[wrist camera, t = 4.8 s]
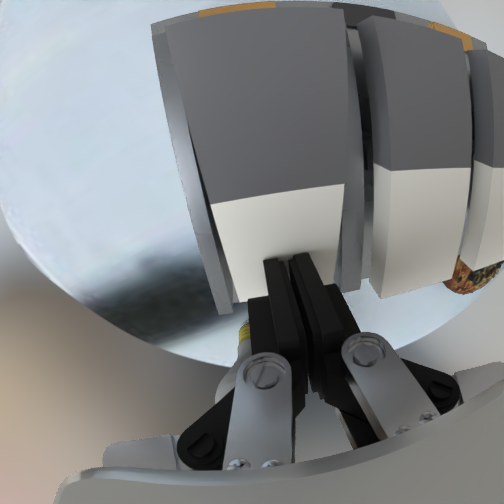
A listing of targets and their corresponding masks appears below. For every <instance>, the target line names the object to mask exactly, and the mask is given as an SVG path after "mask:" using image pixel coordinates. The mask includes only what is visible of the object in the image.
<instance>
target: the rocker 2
mask: <svg viewBox="0 0 504 504" xmlns="http://www.w3.org/2000/svg"><path fill="white" fill-rule="evenodd" d="M357 29H358V33H359V38H360V43H361V48H362V54H363V60H364V66H365V72H366V79H367V86H368V94H369V103H370V113H371V124H372V139H373V167H374V217H373V239H372V254H371V266H370V277H369V282H370V284H371V285H372V287H373V288H374V290H375V291H376V293H377V294H378V296H379V297H380V299H382V298H386V297H390V296H394V295H398V294H401V293H405V292H408V291H412V290H416V289H419V288H422V287H426V286H429V285H433V284H436V283H439V282H442V281H445V280H449V279H452V275H453V272H454V268H455V264H456V260H457V256H458V252H459V247H460V242H461V238H462V233H463V227H464V221H465V215H466V209H467V202H468V193H469V184H470V172H471V155H472V116H471V99H470V88H469V79H468V71H467V65H466V58H465V53H464V48H463V43H462V39H460V38H457V37H455V36H452V35H449V34H446V33H443V32H440V31H437V30H434V29H431V28H427V27H424V26H420V25H416V24H413V23H408V22H404V21H400V20H395V19H390V18H385V17H380V16H373V15H372V16H371V17H369V18H367V19H365V20H363V21H361V22H360V23H358V24H357Z"/></svg>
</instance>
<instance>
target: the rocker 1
mask: <svg viewBox="0 0 504 504" xmlns="http://www.w3.org/2000/svg"><path fill="white" fill-rule="evenodd" d="M165 31H166V35H167V40H168V44H169V48H170V53H171V57H172V61H173V65H174V70H175V74H176V78H177V82H178V86H179V90H180V94H181V98H182V102H183V106H184V110H185V114H186V117H187V121H188V125H189V129H190V133H191V137H192V140H193V144H194V148H195V152H196V155H197V159H198V163H199V166H200V170H201V173H202V177H203V181H204V184H205V188H206V191H207V195H208V198H209V202H210V205H211V209H212V212H213V216H214V219H215V223H216V226H217V229H218V233H219V236H220V240H221V243H222V246H223V250H224V253H225V256H226V260H227V263H228V266H229V269H230V273H231V276H232V279H233V282H234V286H235V289H236V292H237V295H238V298H239V302H246V301H248V299H249V298H255V297H261V296H267V295H268V290H267V284H266V278H265V272H264V265H263V260H267V259H273V258H278V261H284V263H285V266H286V269H287V272H288V275H289V279H290V272H289V262H288V260H291V259H293V255H297V254H302V253H309V255H310V257H311V259H312V261H313V263H314V265H315V267H316V269H317V271H318V273H319V276H320V278H321V280H322V282H323V284H324V285H328V284H332V283H333V277H334V271H335V264H336V257H337V249H338V242H339V234H340V225H341V216H342V206H343V195H344V183H345V168H346V150H347V122H348V78H347V51H346V35H345V22H344V12H343V9H336V8H320V7H279V8H262V9H251V10H242V11H234V12H227V13H221V14H215V15H210V16H205V17H200V18H195V19H191V20H187V21H182V22H179V23H175V24H171V25H168V26H165Z"/></svg>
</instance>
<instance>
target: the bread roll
mask: <svg viewBox="0 0 504 504" xmlns="http://www.w3.org/2000/svg"><path fill="white" fill-rule="evenodd" d="M503 263H504V260H503V261H500V262H497V263H495V264H492V265H489V266H487V267H484V268H481V269H478V270H475V271H473V270H471V269H470V268H469V267H468V266H467V265H466V264H465V263H464V262H463V261H462V260H461V259H460V255H458V256H457V260H456V264H455V268H454V272H453V275H452V279H449V280H445V281H442V282H443V283H444V284H445V286H446V287H447V288H449V289H450V290H452V291H453V292H455V293H458V294H463V295H465V294H468V293H473V292H474V291H476V290H478V289H480V288H482V287H483V286H485V285H486V284H487V283H488V282H490V280H491V279H492V278H494V277H495V276H496V275H497V274H498V271H499V269H500V268H501V265H502V264H503Z"/></svg>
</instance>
